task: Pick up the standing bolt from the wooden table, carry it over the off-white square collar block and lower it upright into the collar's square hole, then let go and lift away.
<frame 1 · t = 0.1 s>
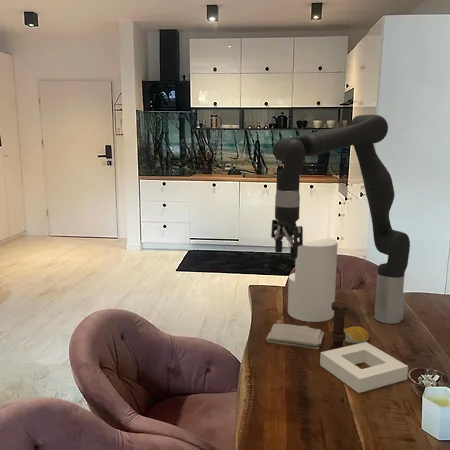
hand: (285, 255, 151), 29 cm above the table, tool pointing down, fingers open, 8 cm apart
bolt: (337, 349, 152), on the table
collar block: (362, 372, 137), on the table
cylinder: (310, 313, 182), on the table
bread roll: (354, 339, 160), on the table
washcloth: (295, 340, 159), on the table
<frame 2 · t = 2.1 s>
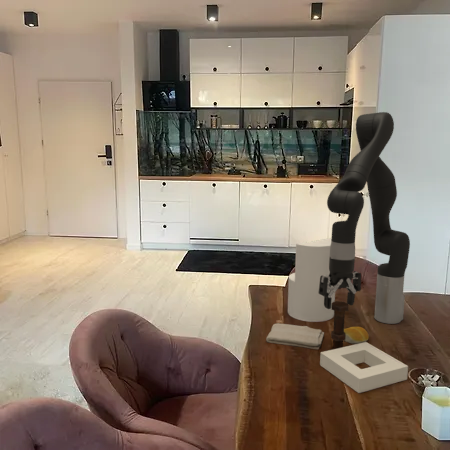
hand: (338, 306, 149), 14 cm above the table, tool pointing down, fingers open, 8 cm apart
nothing on the table moved.
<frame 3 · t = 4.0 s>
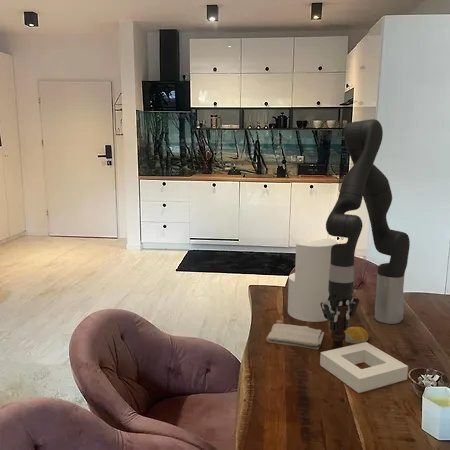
hand: (338, 330, 151), 6 cm above the table, tool pointing down, fingers closed on bolt, 3 cm apart
bolt: (337, 349, 152), on the table, touching gripper
everything else where it was.
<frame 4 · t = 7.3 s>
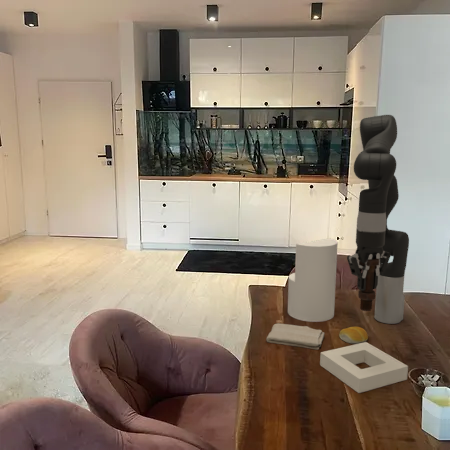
hand: (367, 288, 133), 25 cm above the table, tool pointing down, fingers closed on bolt, 3 cm apart
bolt: (365, 310, 134), point 19 cm above the table, touching gripper
everything else where it was.
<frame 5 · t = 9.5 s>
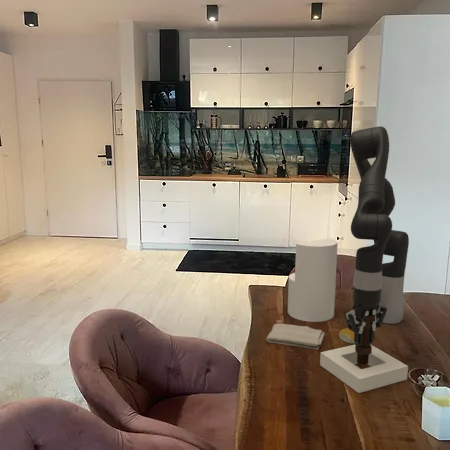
hand: (363, 343, 136), 9 cm above the table, tool pointing down, fingers closed on bolt, 3 cm apart
bolt: (362, 363, 137), point 2 cm above the table, touching gripper
everything else where it was.
when the fingers open (7 cm above the table, at t = 10.6 s): bolt stays where it is, resting in collar block.
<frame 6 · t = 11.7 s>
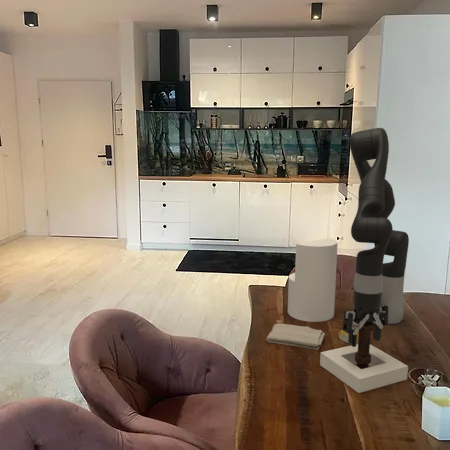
hand: (364, 343, 136), 9 cm above the table, tool pointing down, fingers open, 8 cm apart
bolt: (361, 373, 137), resting in collar block
everything else where it was.
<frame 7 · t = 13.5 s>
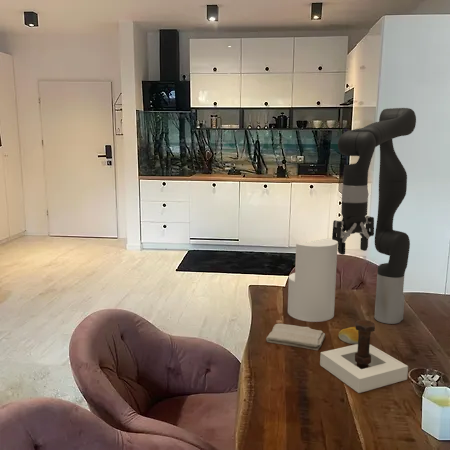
hand: (352, 252, 146), 31 cm above the table, tool pointing down, fingers open, 8 cm apart
nothing on the table moved.
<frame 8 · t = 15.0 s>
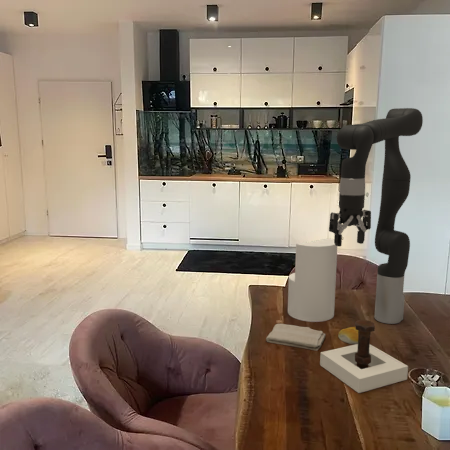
hand: (349, 244, 149), 33 cm above the table, tool pointing down, fingers open, 8 cm apart
nothing on the table moved.
at the end: bolt 0.4 cm off-centre on the collar block, point 0.0 cm above the collar block's base; bolt tilted 0°; the gripper is holding nothing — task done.
